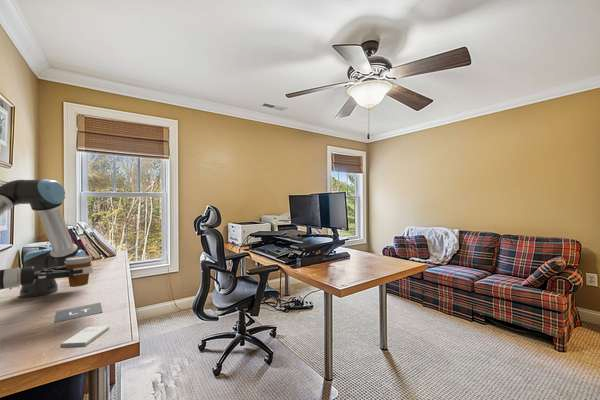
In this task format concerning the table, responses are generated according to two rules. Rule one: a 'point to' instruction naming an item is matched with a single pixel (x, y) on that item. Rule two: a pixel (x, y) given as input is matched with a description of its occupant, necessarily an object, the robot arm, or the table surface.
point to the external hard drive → (85, 336)
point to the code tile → (77, 312)
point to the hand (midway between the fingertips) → (92, 267)
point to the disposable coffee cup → (78, 263)
